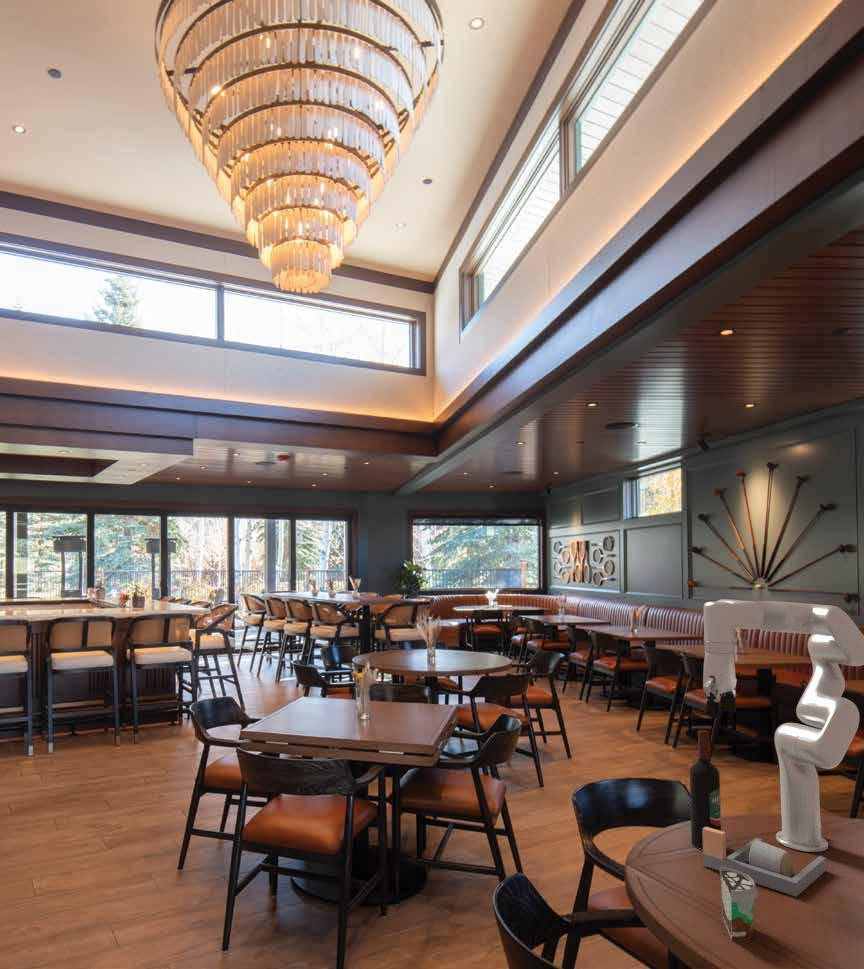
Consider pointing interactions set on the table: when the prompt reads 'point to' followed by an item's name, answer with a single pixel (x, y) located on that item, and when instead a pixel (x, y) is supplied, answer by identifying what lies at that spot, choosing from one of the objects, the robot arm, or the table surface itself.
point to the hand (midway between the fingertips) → (721, 714)
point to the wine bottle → (704, 792)
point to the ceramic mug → (770, 858)
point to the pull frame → (717, 858)
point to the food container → (737, 902)
